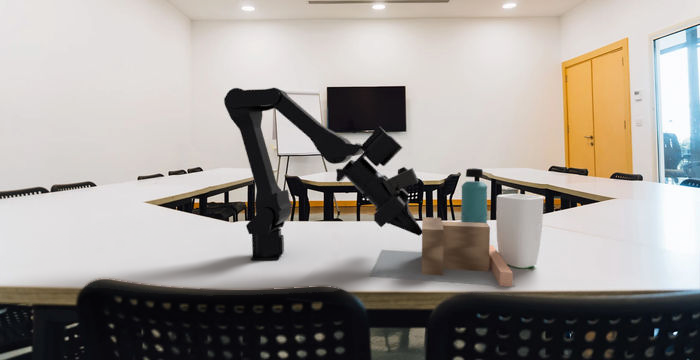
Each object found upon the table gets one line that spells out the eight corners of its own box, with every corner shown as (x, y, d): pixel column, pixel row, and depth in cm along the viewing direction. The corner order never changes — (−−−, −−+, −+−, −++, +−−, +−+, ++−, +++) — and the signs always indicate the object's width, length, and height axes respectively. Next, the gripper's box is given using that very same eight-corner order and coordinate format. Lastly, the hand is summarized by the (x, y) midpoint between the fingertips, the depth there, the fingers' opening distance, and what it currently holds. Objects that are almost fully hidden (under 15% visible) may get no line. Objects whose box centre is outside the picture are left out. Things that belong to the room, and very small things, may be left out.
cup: (522, 273, 67) (524, 199, 66) (491, 263, 73) (493, 195, 72) (544, 267, 70) (547, 196, 69) (513, 257, 77) (515, 193, 75)
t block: (421, 274, 66) (422, 228, 65) (422, 255, 77) (422, 217, 77) (492, 279, 63) (493, 231, 62) (482, 259, 74) (483, 219, 74)
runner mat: (369, 278, 65) (369, 263, 65) (381, 251, 82) (381, 239, 82) (515, 288, 59) (515, 272, 59) (494, 257, 77) (495, 245, 77)
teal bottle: (489, 249, 84) (491, 169, 82) (461, 247, 85) (462, 169, 83) (484, 242, 90) (486, 167, 88) (458, 241, 91) (459, 167, 90)
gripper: (391, 155, 62) (452, 216, 60) (399, 154, 80) (446, 201, 78) (350, 197, 64) (408, 256, 63) (366, 187, 82) (412, 233, 81)
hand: (421, 233), depth 71 cm, fingers closed, pressing on t block
